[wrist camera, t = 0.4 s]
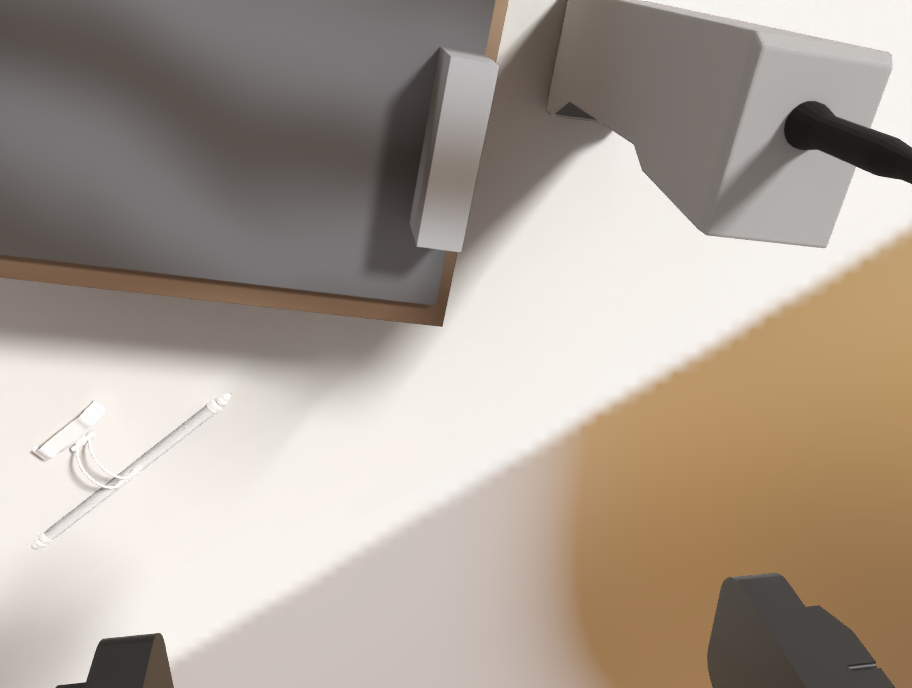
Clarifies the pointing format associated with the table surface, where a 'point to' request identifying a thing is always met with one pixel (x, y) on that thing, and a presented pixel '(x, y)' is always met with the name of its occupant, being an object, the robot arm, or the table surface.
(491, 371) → the table surface
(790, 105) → the vintage mobile phone
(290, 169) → the tray
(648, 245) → the table surface
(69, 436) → the picture light
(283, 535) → the table surface
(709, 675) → the robot arm
